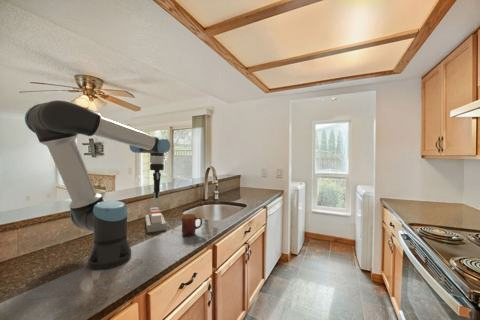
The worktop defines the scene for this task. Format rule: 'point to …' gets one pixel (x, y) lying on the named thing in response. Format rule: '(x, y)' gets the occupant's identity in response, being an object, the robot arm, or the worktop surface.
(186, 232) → the mug
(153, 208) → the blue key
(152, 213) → the red key
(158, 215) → the white key
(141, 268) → the worktop surface
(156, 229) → the key panel
